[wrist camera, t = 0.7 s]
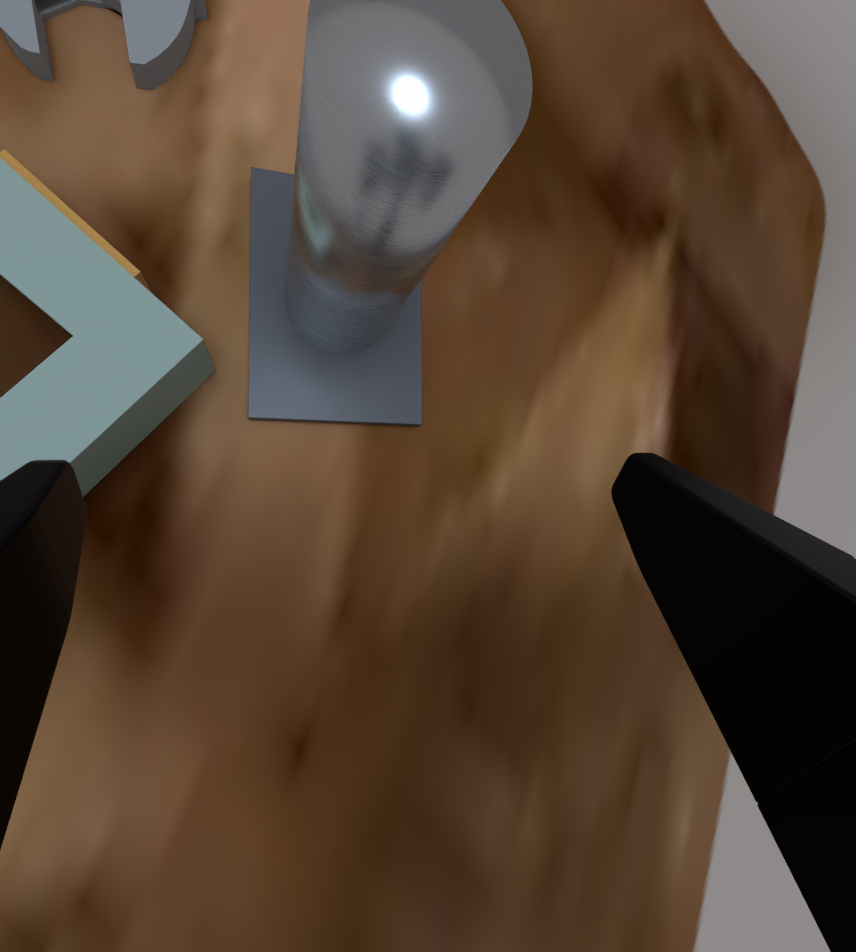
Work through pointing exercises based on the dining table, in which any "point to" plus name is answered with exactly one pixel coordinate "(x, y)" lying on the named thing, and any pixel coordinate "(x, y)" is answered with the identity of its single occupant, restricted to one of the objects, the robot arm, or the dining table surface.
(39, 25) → the adjustable wrench
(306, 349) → the pad
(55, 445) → the socket block
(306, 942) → the dining table surface
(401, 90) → the metal barrel peg
